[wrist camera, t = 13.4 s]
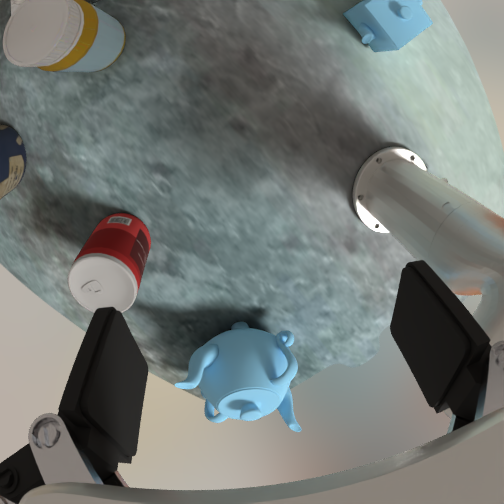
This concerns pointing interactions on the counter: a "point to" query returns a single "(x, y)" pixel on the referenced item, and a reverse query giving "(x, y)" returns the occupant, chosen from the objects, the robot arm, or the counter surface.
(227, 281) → the counter surface
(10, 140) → the canister
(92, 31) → the bottle
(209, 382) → the teapot
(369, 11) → the teapot
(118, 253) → the canned food
